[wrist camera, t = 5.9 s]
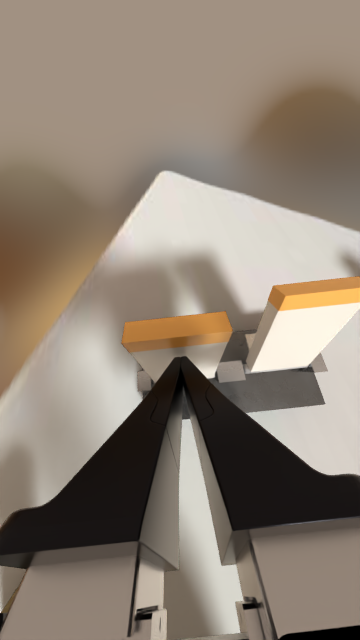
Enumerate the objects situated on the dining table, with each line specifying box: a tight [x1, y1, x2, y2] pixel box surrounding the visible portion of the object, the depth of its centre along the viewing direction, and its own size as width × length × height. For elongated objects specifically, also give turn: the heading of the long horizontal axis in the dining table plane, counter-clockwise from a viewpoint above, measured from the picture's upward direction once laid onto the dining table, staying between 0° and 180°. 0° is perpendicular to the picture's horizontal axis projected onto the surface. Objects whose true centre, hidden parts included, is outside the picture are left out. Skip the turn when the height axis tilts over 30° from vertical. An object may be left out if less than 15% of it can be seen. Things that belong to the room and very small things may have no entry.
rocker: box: [122, 311, 233, 384], centre depth 12 cm, size 1×7×10 cm, turn 98°
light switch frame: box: [138, 330, 328, 420], centre depth 18 cm, size 9×20×5 cm, turn 96°
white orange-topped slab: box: [243, 276, 360, 374], centre depth 13 cm, size 1×7×10 cm
